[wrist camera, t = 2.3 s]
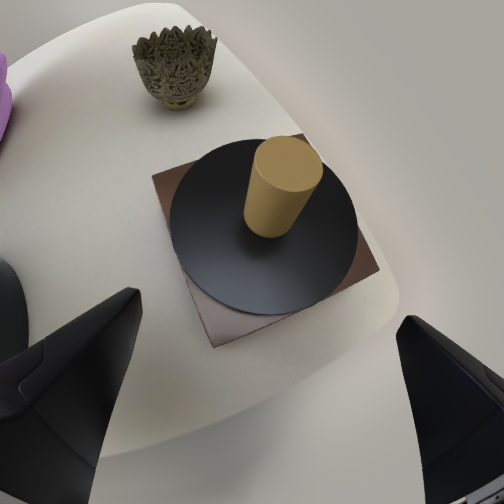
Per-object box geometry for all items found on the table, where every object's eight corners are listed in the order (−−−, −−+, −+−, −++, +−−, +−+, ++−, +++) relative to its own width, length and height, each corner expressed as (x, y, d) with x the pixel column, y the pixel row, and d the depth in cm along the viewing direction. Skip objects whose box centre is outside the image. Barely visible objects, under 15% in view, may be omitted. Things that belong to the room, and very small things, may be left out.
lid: (380, 270, 16) (441, 239, 10) (212, 348, 13) (207, 358, 8) (302, 132, 18) (327, 73, 13) (151, 175, 16) (129, 110, 10)
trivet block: (347, 285, 20) (380, 270, 16) (215, 344, 18) (212, 348, 13) (288, 169, 23) (302, 132, 18) (164, 209, 21) (151, 175, 16)
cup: (223, 116, 24) (227, 50, 17) (149, 134, 23) (133, 69, 15) (205, 76, 26) (206, 19, 18) (142, 91, 24) (130, 35, 17)
